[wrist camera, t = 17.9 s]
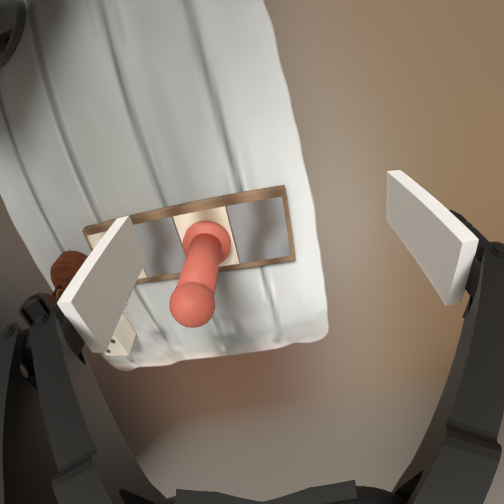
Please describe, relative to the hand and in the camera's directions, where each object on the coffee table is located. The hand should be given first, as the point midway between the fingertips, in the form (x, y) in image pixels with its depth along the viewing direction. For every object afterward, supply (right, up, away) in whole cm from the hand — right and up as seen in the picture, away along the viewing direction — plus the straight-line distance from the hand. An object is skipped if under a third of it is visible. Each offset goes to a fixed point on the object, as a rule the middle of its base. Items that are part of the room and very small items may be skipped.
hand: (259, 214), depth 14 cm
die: (-28, -17, +43) cm, 54 cm away
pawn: (-7, 0, +30) cm, 31 cm away
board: (-11, 0, +32) cm, 34 cm away
